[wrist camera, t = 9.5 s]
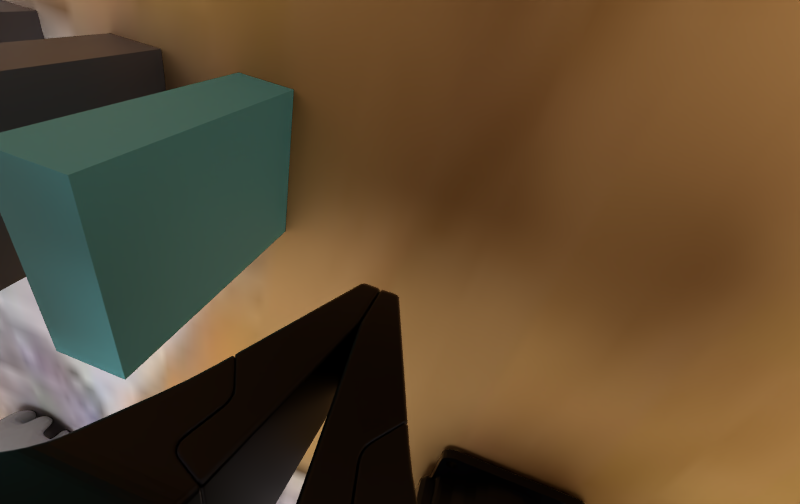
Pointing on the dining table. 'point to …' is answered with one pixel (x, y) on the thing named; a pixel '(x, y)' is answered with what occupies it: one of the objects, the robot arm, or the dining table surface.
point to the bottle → (24, 430)
